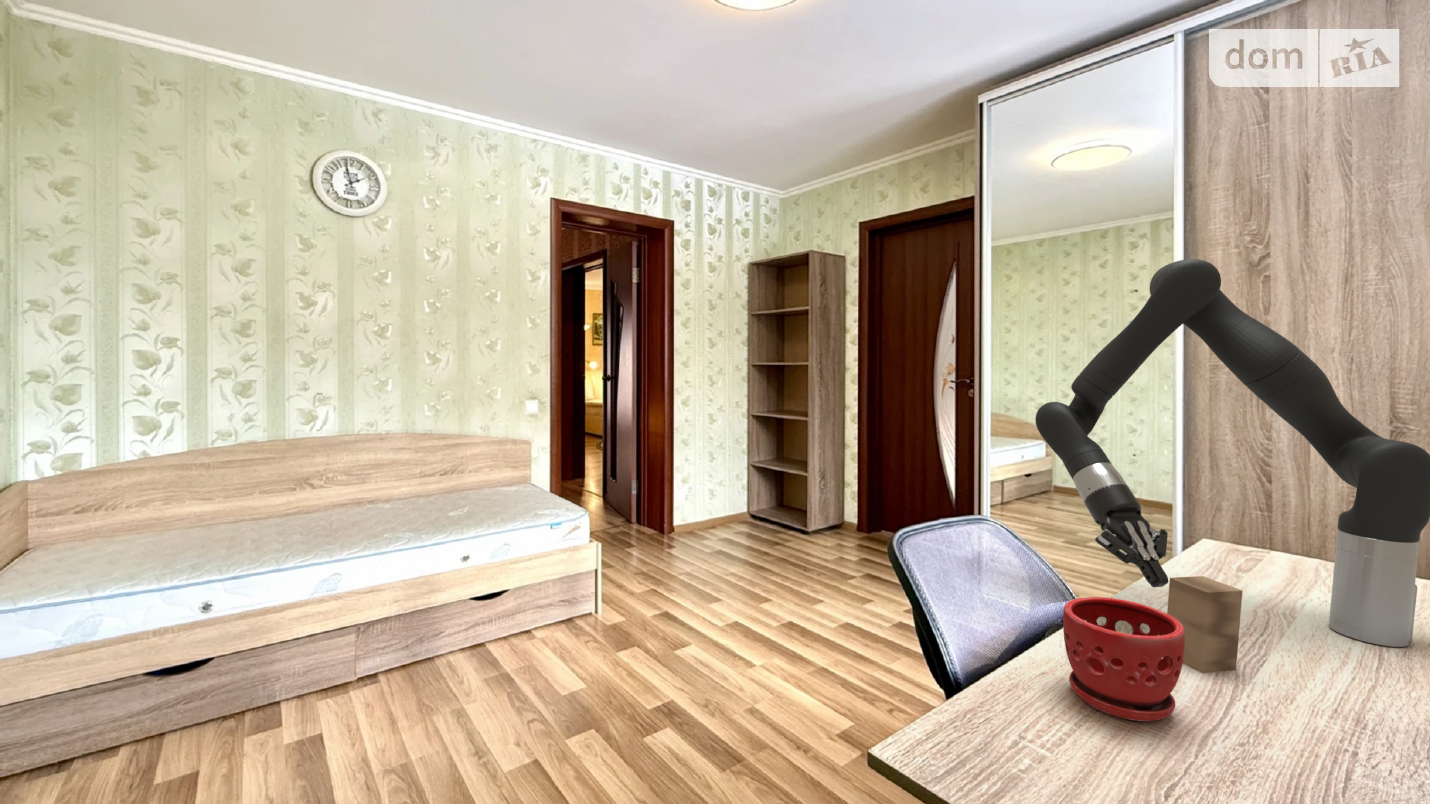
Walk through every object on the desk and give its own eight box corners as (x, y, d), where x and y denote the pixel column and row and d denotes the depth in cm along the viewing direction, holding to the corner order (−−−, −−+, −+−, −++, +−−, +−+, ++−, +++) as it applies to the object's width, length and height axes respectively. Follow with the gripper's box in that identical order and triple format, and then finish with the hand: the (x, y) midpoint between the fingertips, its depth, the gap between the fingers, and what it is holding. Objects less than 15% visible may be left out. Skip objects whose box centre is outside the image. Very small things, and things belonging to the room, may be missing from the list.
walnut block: (1197, 650, 95) (1202, 576, 94) (1236, 670, 89) (1242, 590, 88) (1164, 653, 94) (1169, 577, 93) (1201, 672, 88) (1207, 592, 87)
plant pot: (1088, 667, 89) (1094, 587, 88) (1196, 712, 77) (1203, 621, 77) (1039, 692, 82) (1044, 605, 81) (1150, 745, 70) (1157, 645, 70)
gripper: (1085, 482, 105) (1141, 576, 94) (1150, 481, 107) (1213, 573, 96) (1061, 505, 110) (1111, 596, 99) (1123, 504, 113) (1179, 593, 101)
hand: (1161, 585), depth 97 cm, fingers closed
